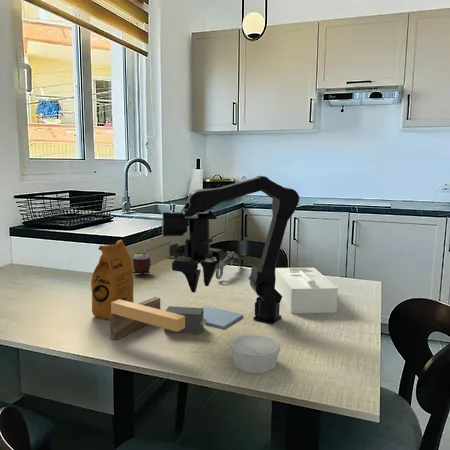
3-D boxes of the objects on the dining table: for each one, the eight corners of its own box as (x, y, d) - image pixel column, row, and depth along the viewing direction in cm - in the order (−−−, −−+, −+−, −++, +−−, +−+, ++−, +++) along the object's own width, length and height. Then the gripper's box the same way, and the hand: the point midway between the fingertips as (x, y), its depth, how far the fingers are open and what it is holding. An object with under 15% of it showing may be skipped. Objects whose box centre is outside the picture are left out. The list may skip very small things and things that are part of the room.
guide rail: (160, 318, 128) (160, 297, 127) (115, 340, 112) (115, 316, 111) (155, 317, 129) (155, 296, 128) (110, 338, 114) (109, 314, 113)
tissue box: (313, 290, 158) (314, 261, 157) (336, 314, 134) (338, 281, 132) (274, 290, 157) (275, 261, 155) (290, 315, 132) (292, 281, 131)
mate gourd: (134, 270, 181) (133, 235, 178) (153, 270, 181) (152, 235, 179) (132, 275, 173) (131, 239, 171) (152, 275, 174) (151, 239, 172)
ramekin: (223, 372, 97) (224, 350, 96) (239, 351, 107) (240, 331, 106) (272, 381, 93) (272, 358, 92) (283, 359, 103) (284, 338, 102)
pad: (242, 317, 129) (242, 314, 129) (223, 329, 120) (223, 326, 120) (204, 308, 137) (204, 305, 137) (183, 319, 127) (183, 316, 127)
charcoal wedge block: (207, 328, 121) (207, 308, 120) (204, 335, 116) (204, 314, 115) (169, 326, 123) (168, 306, 122) (164, 333, 118) (164, 312, 117)
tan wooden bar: (185, 327, 104) (185, 315, 104) (177, 331, 102) (177, 319, 101) (119, 309, 115) (119, 299, 115) (111, 313, 113) (110, 302, 112)
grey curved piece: (238, 266, 191) (238, 244, 190) (241, 266, 191) (241, 244, 189) (215, 283, 165) (215, 258, 163) (218, 283, 164) (219, 258, 163)
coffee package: (86, 316, 128) (83, 245, 125) (112, 304, 140) (111, 237, 136) (113, 322, 125) (111, 248, 121) (138, 308, 136) (137, 240, 132)
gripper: (194, 227, 132) (195, 277, 134) (155, 238, 116) (157, 293, 118) (225, 231, 126) (226, 282, 129) (188, 242, 110) (190, 300, 113)
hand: (200, 289), depth 122 cm, fingers open, 6 cm apart
